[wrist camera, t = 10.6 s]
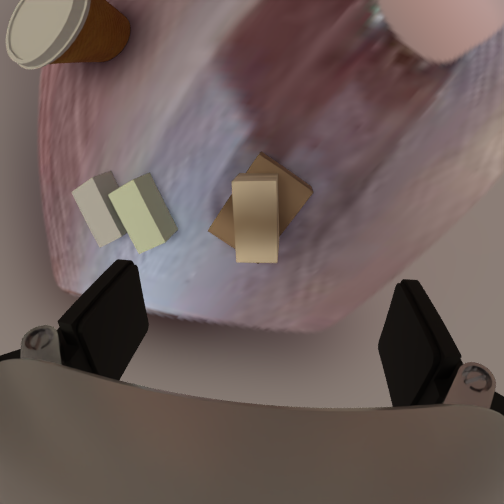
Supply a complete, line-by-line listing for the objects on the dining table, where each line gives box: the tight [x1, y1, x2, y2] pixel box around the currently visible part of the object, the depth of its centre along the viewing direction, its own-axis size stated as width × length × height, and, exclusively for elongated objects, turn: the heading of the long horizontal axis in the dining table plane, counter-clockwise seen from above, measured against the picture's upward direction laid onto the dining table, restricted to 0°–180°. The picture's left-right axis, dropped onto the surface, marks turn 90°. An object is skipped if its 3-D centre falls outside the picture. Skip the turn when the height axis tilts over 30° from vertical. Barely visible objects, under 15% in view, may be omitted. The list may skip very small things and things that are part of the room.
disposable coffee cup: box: [6, 0, 130, 69], centre depth 19 cm, size 10×10×12 cm
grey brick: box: [72, 171, 127, 247], centre depth 31 cm, size 7×4×4 cm, turn 24°
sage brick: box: [108, 173, 178, 254], centre depth 31 cm, size 7×4×4 cm, turn 24°
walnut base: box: [208, 152, 313, 264], centre depth 30 cm, size 9×6×3 cm, turn 146°
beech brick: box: [232, 173, 279, 263], centre depth 27 cm, size 7×4×4 cm, turn 2°
